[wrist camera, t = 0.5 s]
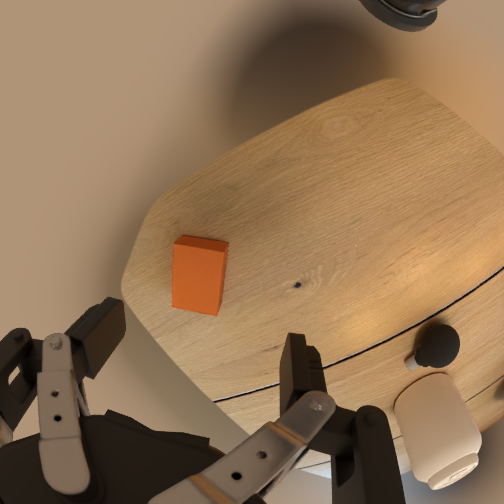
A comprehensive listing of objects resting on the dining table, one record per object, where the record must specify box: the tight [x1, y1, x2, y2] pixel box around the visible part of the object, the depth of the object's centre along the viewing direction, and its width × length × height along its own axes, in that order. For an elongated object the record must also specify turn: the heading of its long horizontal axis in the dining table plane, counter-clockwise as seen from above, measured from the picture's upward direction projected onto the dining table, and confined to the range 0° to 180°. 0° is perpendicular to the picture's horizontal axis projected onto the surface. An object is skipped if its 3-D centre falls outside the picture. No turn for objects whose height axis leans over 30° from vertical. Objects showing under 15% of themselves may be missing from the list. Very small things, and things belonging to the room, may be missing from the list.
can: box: [394, 373, 482, 490], centre depth 30 cm, size 12×12×20 cm
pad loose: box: [172, 235, 229, 316], centre depth 31 cm, size 8×6×3 cm
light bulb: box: [406, 324, 460, 371], centre depth 32 cm, size 6×6×10 cm
